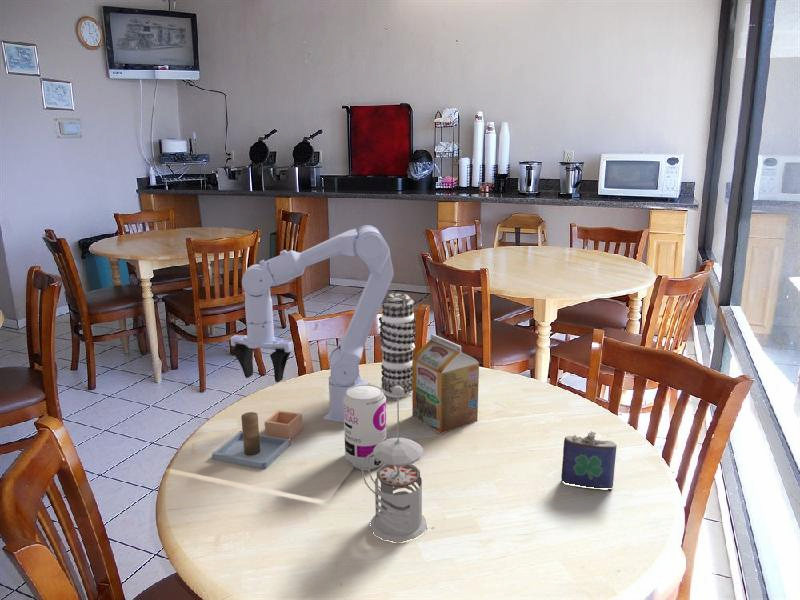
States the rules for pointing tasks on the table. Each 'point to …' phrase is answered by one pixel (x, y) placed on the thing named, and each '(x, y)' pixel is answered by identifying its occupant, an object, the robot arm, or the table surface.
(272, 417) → the hollow square block
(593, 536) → the table surface
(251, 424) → the dowel
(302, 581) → the table surface
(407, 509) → the french press
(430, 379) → the milk carton
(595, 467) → the flask
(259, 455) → the tray
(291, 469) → the table surface
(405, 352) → the decorative candle
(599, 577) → the table surface
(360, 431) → the supplement can
